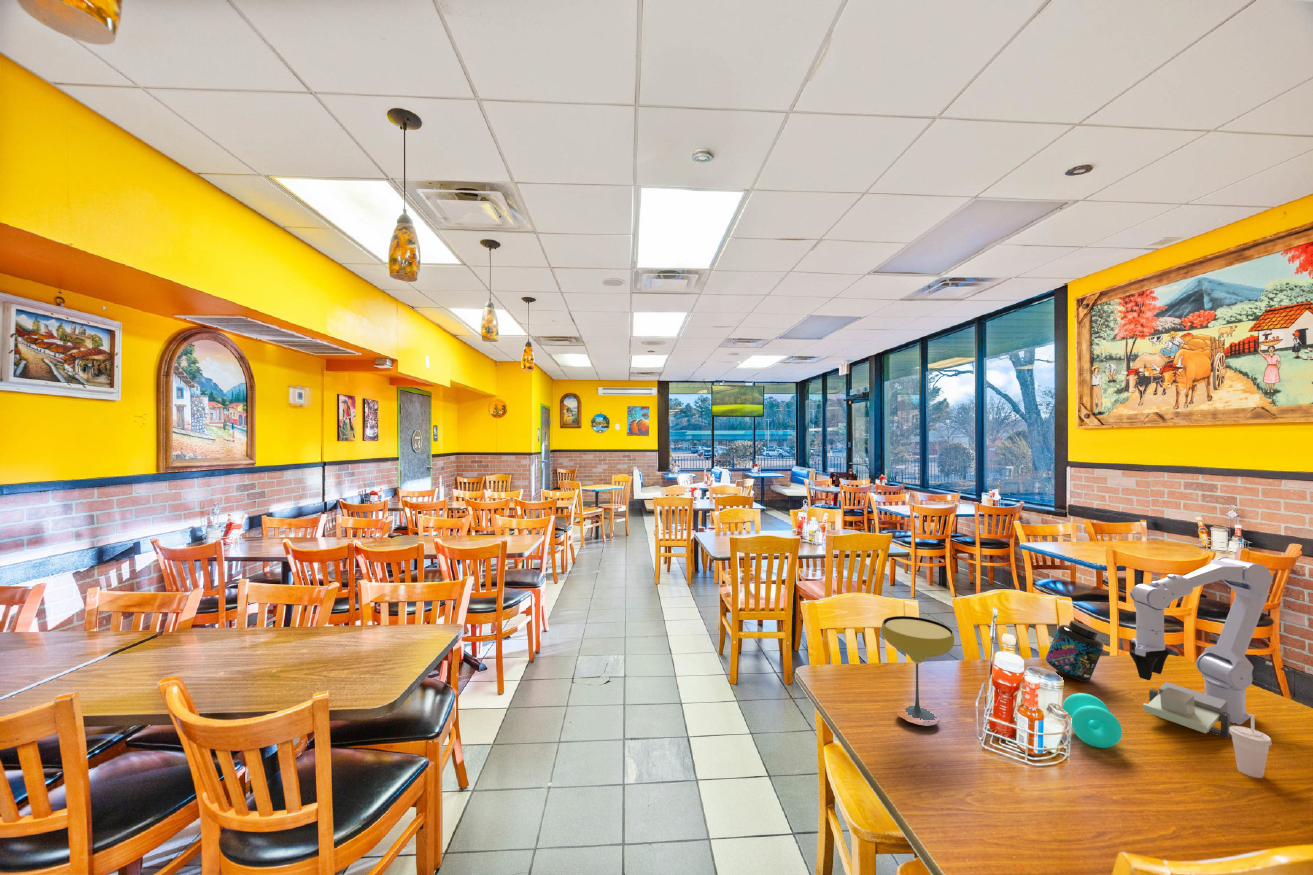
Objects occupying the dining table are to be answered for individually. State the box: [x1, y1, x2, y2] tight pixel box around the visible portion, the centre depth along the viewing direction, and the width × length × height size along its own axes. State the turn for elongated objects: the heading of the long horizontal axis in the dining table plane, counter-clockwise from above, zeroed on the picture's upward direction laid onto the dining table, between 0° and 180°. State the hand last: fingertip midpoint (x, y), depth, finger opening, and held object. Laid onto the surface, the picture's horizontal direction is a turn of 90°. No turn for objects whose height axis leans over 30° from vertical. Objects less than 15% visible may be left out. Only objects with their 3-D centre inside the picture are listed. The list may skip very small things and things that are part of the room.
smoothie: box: [1229, 713, 1273, 779], centre depth 116 cm, size 6×6×14 cm
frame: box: [1148, 688, 1232, 739], centre depth 137 cm, size 2×15×6 cm, turn 28°
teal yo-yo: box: [1062, 692, 1123, 749], centre depth 130 cm, size 10×10×10 cm
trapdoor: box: [1142, 681, 1228, 734], centre depth 136 cm, size 16×12×4 cm
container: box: [1045, 620, 1104, 682], centre depth 164 cm, size 12×12×17 cm
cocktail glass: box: [881, 615, 955, 722], centre depth 141 cm, size 18×18×25 cm
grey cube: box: [1160, 687, 1195, 719], centre depth 135 cm, size 5×5×5 cm
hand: (1150, 675), depth 143 cm, fingers open, 7 cm apart
